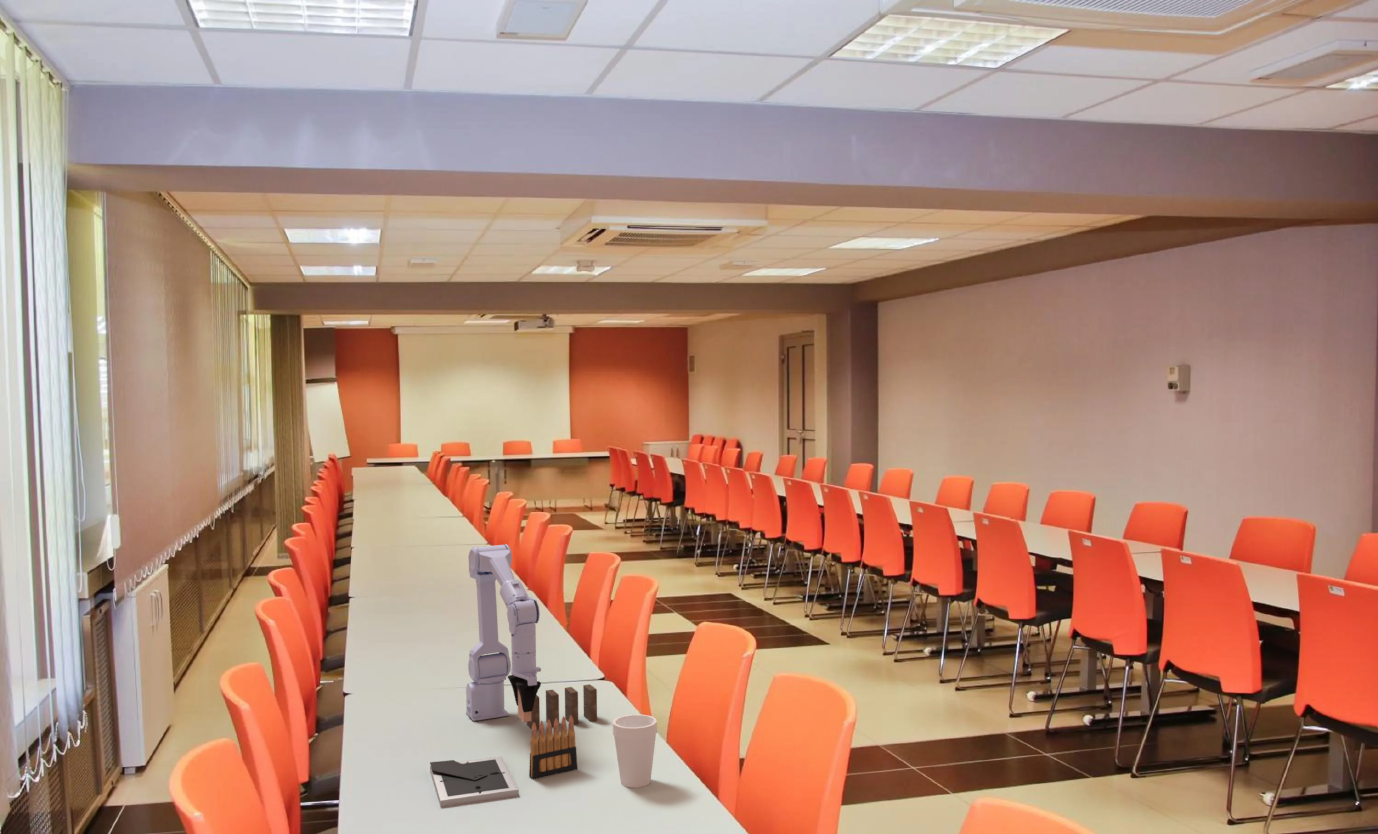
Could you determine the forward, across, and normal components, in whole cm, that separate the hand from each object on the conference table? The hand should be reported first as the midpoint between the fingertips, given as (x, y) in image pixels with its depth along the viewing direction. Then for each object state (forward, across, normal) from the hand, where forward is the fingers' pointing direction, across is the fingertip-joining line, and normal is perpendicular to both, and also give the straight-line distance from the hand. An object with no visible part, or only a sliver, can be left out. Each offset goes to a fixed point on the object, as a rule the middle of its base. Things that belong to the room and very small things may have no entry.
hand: (524, 708), depth 244 cm
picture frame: (+9, -20, +17) cm, 28 cm away
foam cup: (+8, -35, -14) cm, 39 cm away
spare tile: (+2, 0, 0) cm, 2 cm away
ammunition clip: (+8, -22, 0) cm, 24 cm away
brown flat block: (+8, +10, -20) cm, 24 cm away
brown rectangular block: (+8, +10, -5) cm, 14 cm away
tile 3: (+8, +10, -10) cm, 16 cm away
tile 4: (+8, +10, -15) cm, 20 cm away
